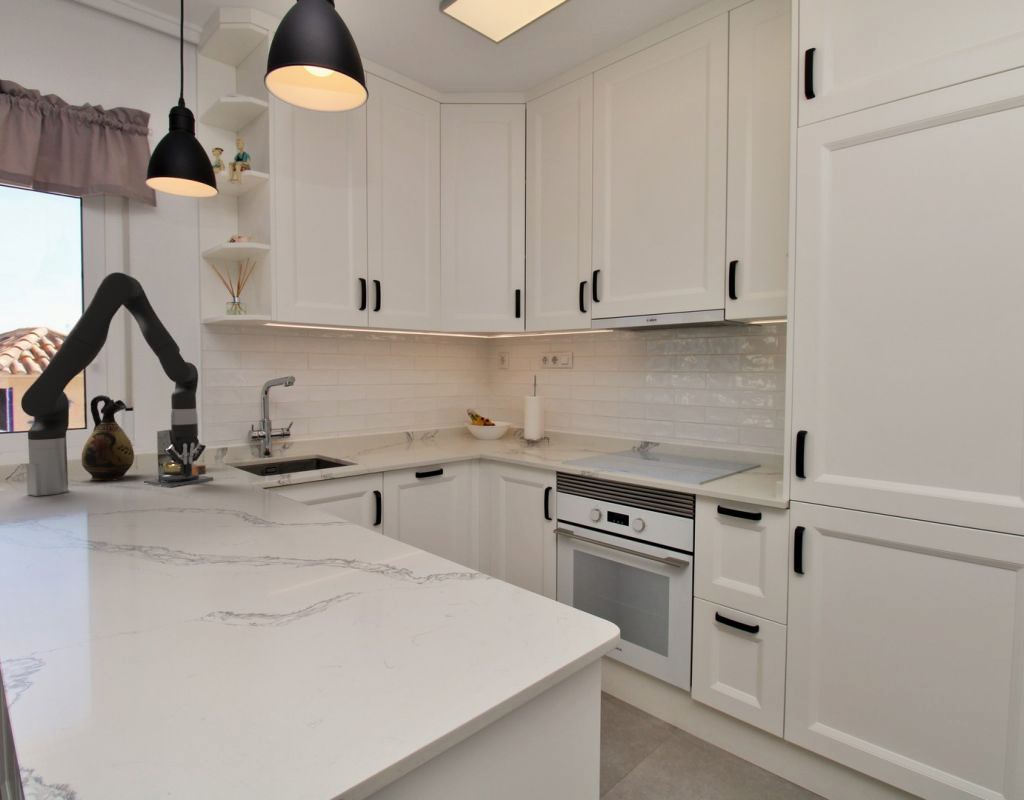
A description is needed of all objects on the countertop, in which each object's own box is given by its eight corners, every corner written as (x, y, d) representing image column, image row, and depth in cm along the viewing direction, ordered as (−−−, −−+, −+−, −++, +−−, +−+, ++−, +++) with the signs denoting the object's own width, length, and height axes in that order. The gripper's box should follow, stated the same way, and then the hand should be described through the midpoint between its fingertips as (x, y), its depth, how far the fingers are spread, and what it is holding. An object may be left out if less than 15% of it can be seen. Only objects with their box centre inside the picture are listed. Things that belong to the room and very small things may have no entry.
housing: (169, 487, 184) (169, 465, 184) (143, 483, 191) (142, 462, 191) (213, 480, 197) (212, 459, 197) (187, 476, 204) (186, 456, 204)
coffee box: (174, 473, 212) (172, 430, 211) (157, 473, 212) (155, 431, 211) (188, 469, 221) (187, 428, 220) (172, 469, 221) (171, 428, 220)
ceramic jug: (145, 475, 208) (142, 394, 207) (111, 483, 193) (108, 395, 192) (103, 474, 210) (100, 394, 209) (66, 482, 195) (63, 396, 194)
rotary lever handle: (156, 473, 192) (156, 461, 192) (184, 469, 200) (183, 458, 200) (187, 477, 184) (187, 465, 184) (215, 473, 192) (214, 461, 192)
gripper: (170, 424, 177) (172, 479, 177) (210, 421, 188) (212, 472, 189) (157, 423, 180) (159, 477, 181) (197, 420, 192) (198, 471, 193)
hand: (186, 475), depth 185 cm, fingers closed
